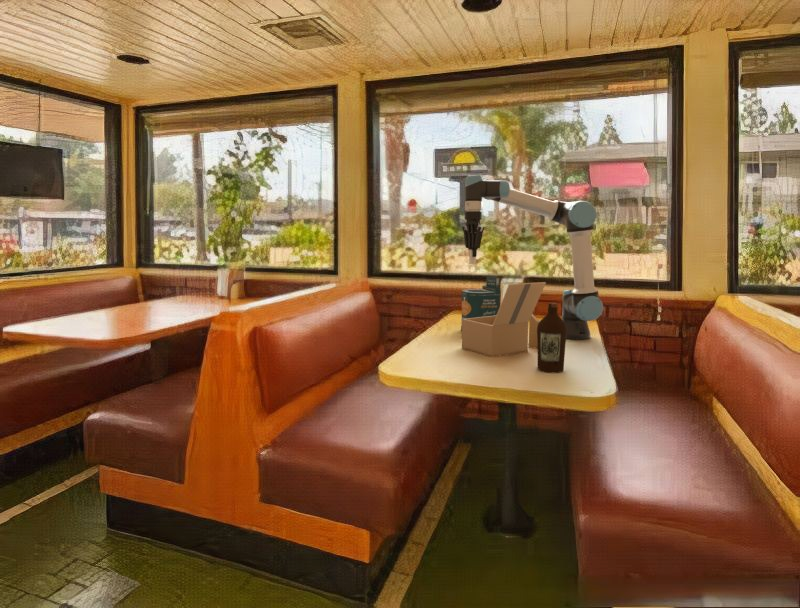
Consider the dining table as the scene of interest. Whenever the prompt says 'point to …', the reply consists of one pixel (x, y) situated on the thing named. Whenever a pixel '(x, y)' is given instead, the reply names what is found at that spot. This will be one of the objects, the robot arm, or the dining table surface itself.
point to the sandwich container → (533, 331)
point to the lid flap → (519, 303)
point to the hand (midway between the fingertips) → (472, 264)
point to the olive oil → (551, 341)
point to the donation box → (482, 300)
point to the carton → (494, 336)
